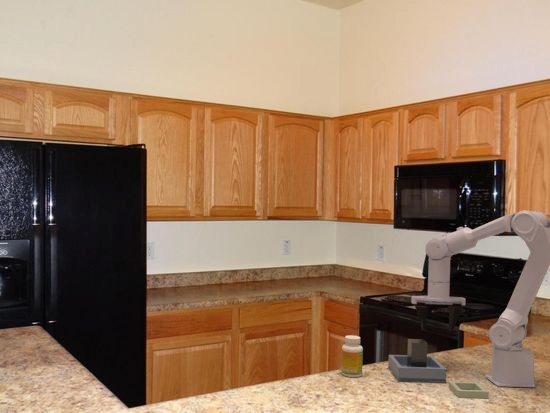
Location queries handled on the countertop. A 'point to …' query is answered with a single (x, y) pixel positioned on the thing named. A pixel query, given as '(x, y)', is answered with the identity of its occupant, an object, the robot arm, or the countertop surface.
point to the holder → (473, 391)
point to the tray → (417, 370)
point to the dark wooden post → (417, 353)
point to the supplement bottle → (352, 357)
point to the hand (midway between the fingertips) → (437, 330)
